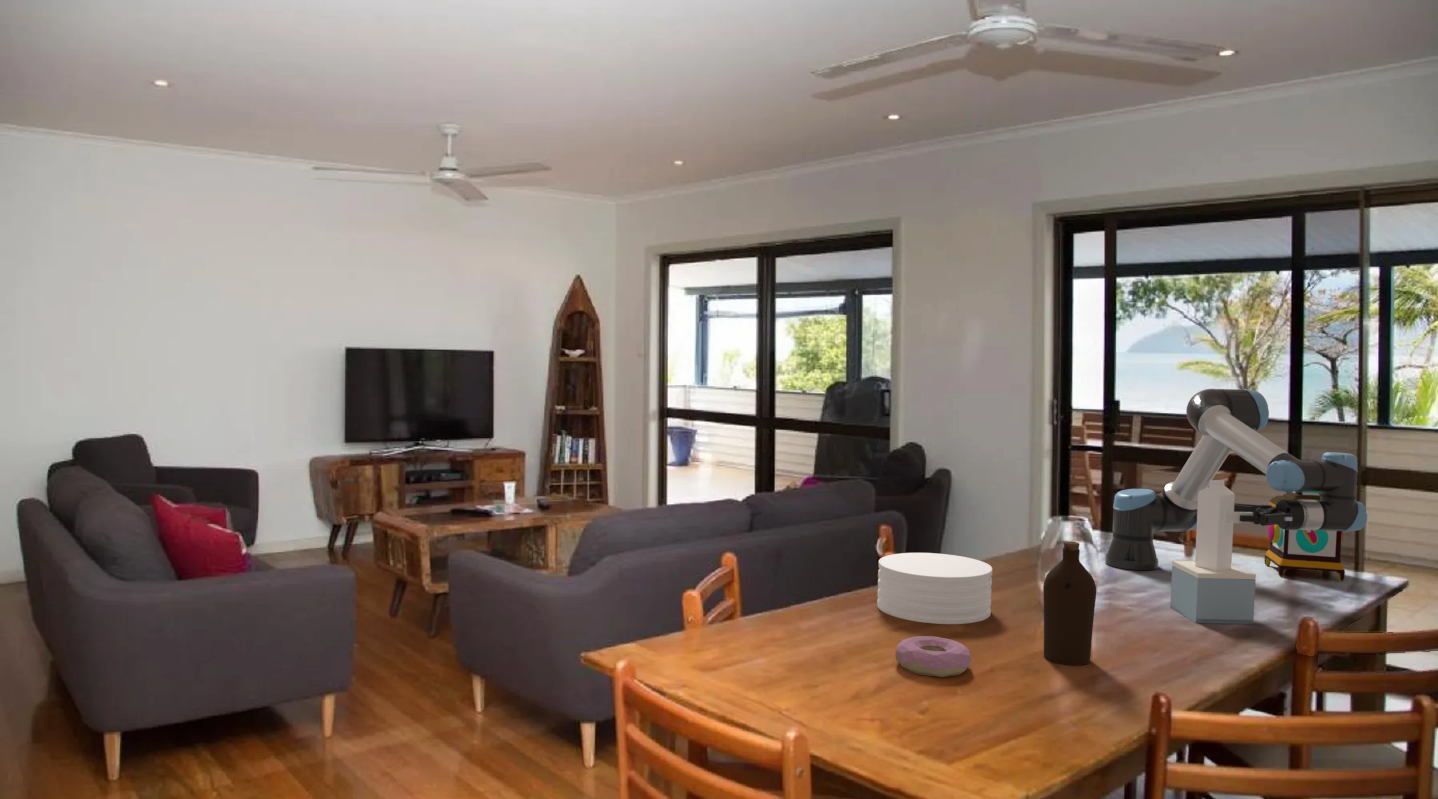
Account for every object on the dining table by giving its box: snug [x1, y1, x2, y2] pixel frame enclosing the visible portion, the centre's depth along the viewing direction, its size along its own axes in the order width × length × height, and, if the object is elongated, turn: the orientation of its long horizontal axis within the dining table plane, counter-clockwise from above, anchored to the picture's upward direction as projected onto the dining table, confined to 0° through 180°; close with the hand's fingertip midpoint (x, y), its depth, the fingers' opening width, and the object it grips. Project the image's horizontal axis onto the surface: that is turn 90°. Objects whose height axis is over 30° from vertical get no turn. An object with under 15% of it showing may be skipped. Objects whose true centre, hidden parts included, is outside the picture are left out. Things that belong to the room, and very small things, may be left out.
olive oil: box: [1042, 540, 1097, 666], centre depth 210 cm, size 11×11×25 cm
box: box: [1169, 565, 1257, 625], centre depth 248 cm, size 14×14×11 cm
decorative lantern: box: [1264, 491, 1346, 582], centre depth 299 cm, size 20×20×30 cm
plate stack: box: [876, 552, 993, 625], centre depth 249 cm, size 28×28×12 cm
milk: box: [1194, 479, 1236, 571], centre depth 247 cm, size 6×6×22 cm
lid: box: [1171, 560, 1257, 580], centre depth 248 cm, size 14×14×1 cm
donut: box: [894, 635, 972, 678], centre depth 203 cm, size 16×15×5 cm
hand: (1211, 512), depth 247 cm, fingers open, 13 cm apart
